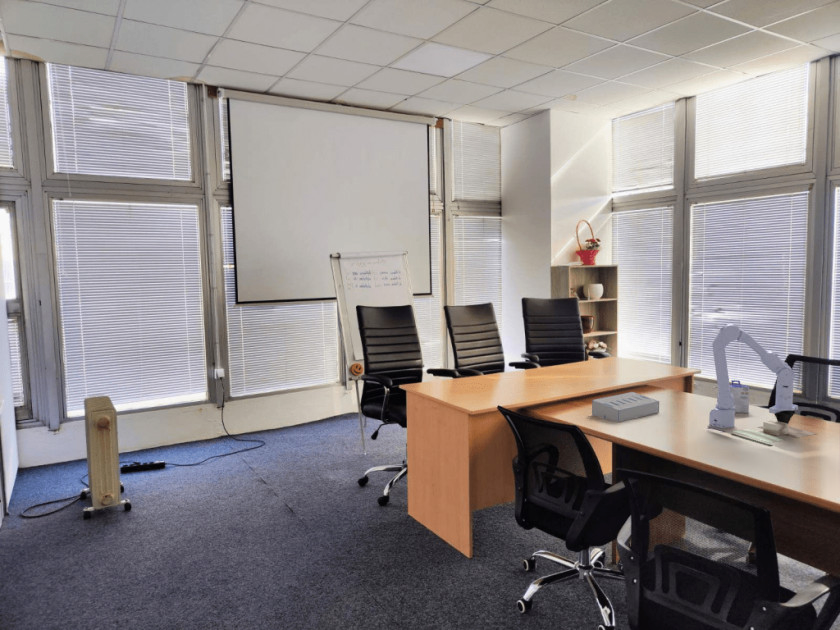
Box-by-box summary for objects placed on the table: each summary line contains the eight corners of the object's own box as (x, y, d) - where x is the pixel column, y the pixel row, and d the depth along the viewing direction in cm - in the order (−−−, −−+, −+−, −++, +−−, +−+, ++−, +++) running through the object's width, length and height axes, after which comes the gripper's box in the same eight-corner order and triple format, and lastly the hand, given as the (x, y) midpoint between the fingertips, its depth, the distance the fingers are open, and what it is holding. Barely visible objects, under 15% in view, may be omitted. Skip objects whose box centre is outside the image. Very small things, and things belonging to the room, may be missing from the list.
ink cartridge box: (745, 410, 264) (746, 380, 263) (749, 413, 259) (750, 382, 258) (722, 409, 266) (723, 379, 265) (726, 412, 261) (727, 381, 260)
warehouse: (618, 423, 245) (618, 406, 245) (592, 416, 257) (592, 399, 257) (659, 413, 262) (659, 397, 261) (632, 407, 274) (632, 391, 273)
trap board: (769, 446, 210) (769, 442, 210) (731, 435, 225) (731, 431, 225) (817, 437, 221) (817, 433, 221) (778, 427, 236) (778, 423, 236)
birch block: (777, 435, 219) (778, 425, 219) (763, 431, 224) (763, 421, 224) (787, 433, 221) (788, 423, 221) (773, 429, 227) (773, 420, 226)
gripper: (782, 399, 217) (780, 433, 218) (806, 396, 223) (804, 429, 224) (764, 395, 224) (763, 429, 225) (788, 392, 229) (787, 425, 230)
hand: (782, 429), depth 225 cm, fingers closed
